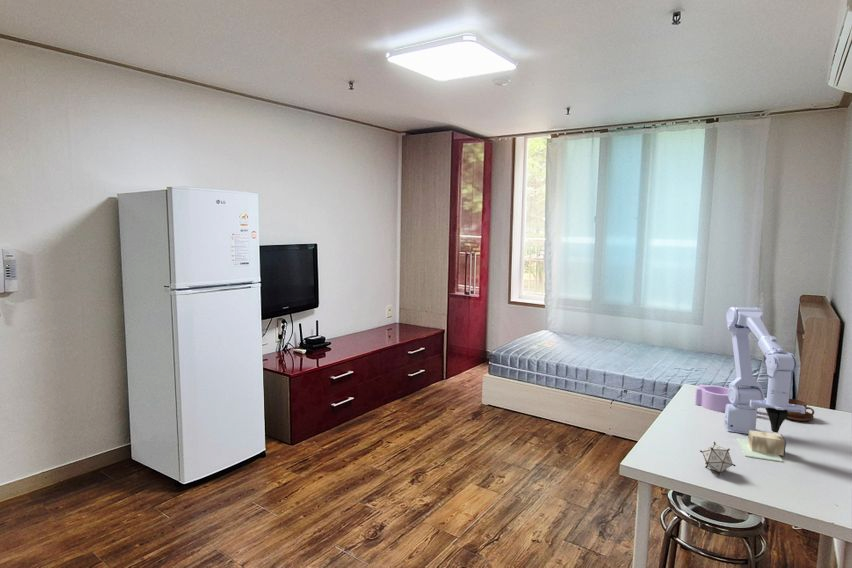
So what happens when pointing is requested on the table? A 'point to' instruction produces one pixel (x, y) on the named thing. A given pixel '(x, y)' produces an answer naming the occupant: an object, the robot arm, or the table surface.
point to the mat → (760, 455)
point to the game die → (717, 458)
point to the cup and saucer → (798, 415)
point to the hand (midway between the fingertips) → (774, 431)
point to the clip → (712, 397)
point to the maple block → (767, 442)
